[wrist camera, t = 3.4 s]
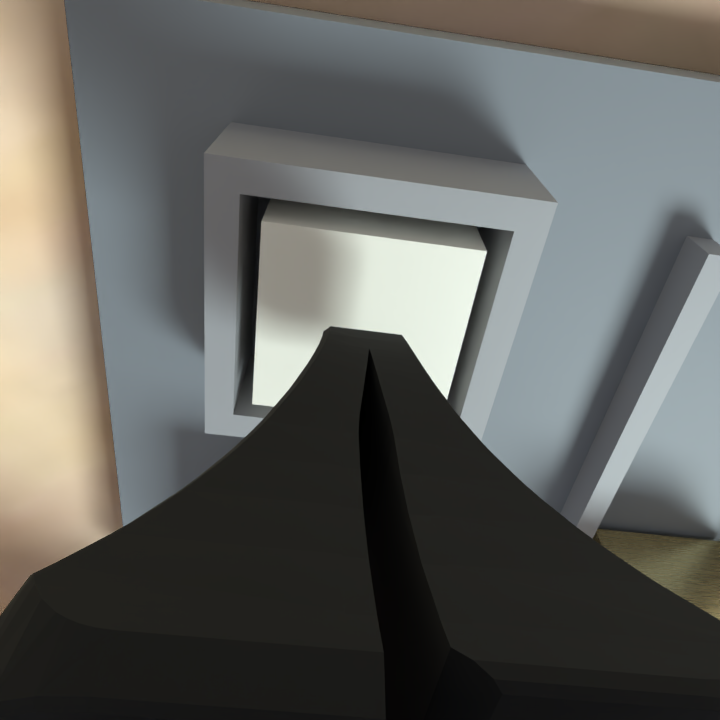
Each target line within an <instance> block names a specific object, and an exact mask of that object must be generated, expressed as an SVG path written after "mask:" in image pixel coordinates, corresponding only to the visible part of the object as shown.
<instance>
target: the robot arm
mask: <svg viewBox="0 0 720 720" xmlns="http://www.w3.org/2000/svg"><path fill="white" fill-rule="evenodd" d="M0 720H720V620H719V619H717V618H716V617H714V616H712V615H711V614H709V613H707V612H705V611H704V610H702V609H700V608H699V607H697V606H695V605H694V604H692V603H690V602H689V601H687V600H685V599H683V598H682V597H680V596H678V595H677V594H675V593H673V592H672V591H670V590H668V589H667V588H665V587H663V586H661V585H660V584H658V583H657V582H655V581H654V580H652V579H650V578H649V577H647V576H646V575H644V574H643V573H641V572H640V571H638V570H637V569H635V568H634V567H633V566H631V565H630V564H628V563H627V562H625V561H624V560H622V559H621V558H619V557H618V556H616V555H615V554H613V553H612V552H610V551H609V550H607V549H606V548H605V547H603V546H602V545H600V544H599V543H598V542H596V541H595V540H594V539H592V538H591V537H590V536H588V535H587V534H585V533H584V532H583V531H581V530H580V529H579V528H577V527H576V526H575V525H573V524H572V523H571V522H570V521H568V520H567V519H566V518H565V517H564V516H562V515H561V514H560V513H559V512H557V511H556V510H555V509H554V508H552V507H551V506H550V505H549V504H547V503H546V502H545V501H544V500H542V499H541V498H540V497H539V496H538V495H537V494H535V493H534V492H533V491H532V490H531V489H530V488H528V487H527V486H526V485H525V484H524V483H523V482H522V481H521V480H520V479H519V478H518V477H517V476H515V475H514V474H513V473H512V472H511V471H510V470H509V469H508V468H507V467H506V466H505V465H504V464H503V463H502V462H501V461H500V460H499V459H498V458H497V457H496V456H495V455H494V454H493V453H492V452H491V451H490V450H489V449H488V448H487V447H486V446H485V445H484V444H483V443H482V442H481V441H480V440H479V438H478V437H477V436H476V435H475V434H474V433H473V432H472V430H471V429H470V428H469V427H468V426H467V425H466V423H465V422H464V421H463V420H462V419H461V418H460V416H459V415H458V414H457V413H456V412H455V410H454V409H453V408H452V406H451V405H450V404H449V402H448V401H447V400H446V398H445V397H444V396H443V394H442V393H441V392H440V390H439V389H438V387H437V386H436V385H435V383H434V382H433V380H432V379H431V378H430V376H429V375H428V373H427V372H426V370H425V369H424V367H423V366H422V364H421V363H420V361H419V360H418V358H417V357H416V355H415V353H414V352H413V350H412V349H411V347H410V346H409V344H408V343H407V341H406V340H405V338H404V337H403V336H402V335H399V334H391V333H383V332H375V331H367V330H358V329H350V328H342V327H334V326H330V327H329V328H327V329H326V330H325V331H323V335H322V338H321V340H320V343H319V345H318V347H317V349H316V350H315V352H314V354H313V355H312V357H311V359H310V360H309V362H308V364H307V365H306V366H305V368H304V369H303V371H302V372H301V373H300V375H299V376H298V378H297V379H296V380H295V382H294V383H293V385H292V386H291V387H290V389H289V390H288V391H287V392H286V393H285V395H284V396H283V397H282V398H281V399H280V400H279V402H278V403H277V404H276V405H275V406H274V407H273V408H272V410H271V411H270V412H269V413H268V414H267V415H266V416H265V418H264V419H263V420H262V421H261V422H260V423H259V424H258V425H257V426H256V427H255V428H254V429H253V430H252V431H251V432H250V433H249V434H248V435H247V436H246V437H245V438H243V439H242V440H241V441H240V442H239V443H238V444H237V445H236V446H235V447H234V448H233V449H231V450H230V451H229V452H228V453H227V454H226V455H224V456H223V457H222V458H221V459H220V460H218V461H217V462H216V463H215V464H213V465H212V466H211V467H210V468H208V469H207V470H206V471H205V472H204V473H202V474H201V475H200V476H198V477H197V478H196V479H194V480H193V481H192V482H190V483H189V484H188V485H186V486H185V487H184V488H182V489H181V490H179V491H178V492H176V493H175V494H173V495H172V496H170V497H169V498H167V499H166V500H164V501H163V502H161V503H160V504H158V505H156V506H155V507H153V508H152V509H150V510H149V511H147V512H146V513H144V514H143V515H141V516H140V517H138V518H137V519H135V520H133V521H132V522H130V523H129V524H127V525H125V526H124V527H122V528H120V529H119V530H117V531H115V532H114V533H112V534H110V535H108V536H106V537H104V538H102V539H100V540H98V541H96V542H95V543H93V544H91V545H89V546H87V547H85V548H83V549H81V550H79V551H77V552H75V553H73V554H72V555H70V556H68V557H66V558H64V559H62V560H60V561H58V562H56V563H54V564H52V565H50V566H48V567H46V568H44V569H42V570H40V571H38V572H36V573H33V574H32V575H30V577H29V578H28V579H27V581H26V582H25V583H24V585H23V586H22V587H21V588H20V590H19V591H18V593H17V594H16V595H15V597H14V598H13V599H12V601H11V602H10V603H9V605H8V606H7V607H6V609H5V610H4V611H3V613H2V614H1V615H0Z"/></svg>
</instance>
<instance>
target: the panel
mask: <svg viewBox="0 0 720 720" xmlns="http://www.w3.org/2000/svg"><path fill="white" fill-rule="evenodd" d="M64 2H65V11H66V20H67V29H68V38H69V47H70V56H71V65H72V74H73V83H74V92H75V101H76V110H77V118H78V127H79V136H80V145H81V154H82V163H83V172H84V181H85V190H86V199H87V208H88V217H89V226H90V235H91V244H92V253H93V262H94V271H95V280H96V289H97V298H98V306H99V315H100V324H101V333H102V342H103V351H104V360H105V369H106V378H107V387H108V396H109V405H110V414H111V423H112V432H113V441H114V450H115V459H116V468H117V477H118V485H119V494H120V503H121V512H122V521H123V527H124V526H125V525H127V524H129V523H130V522H132V521H133V520H135V519H137V518H138V517H140V516H141V515H143V514H144V513H146V512H147V511H149V510H150V509H152V508H153V507H155V506H156V505H158V504H160V503H161V502H163V501H164V500H166V499H167V498H169V497H170V496H172V495H173V494H175V493H176V492H178V491H179V490H181V489H182V488H184V487H185V486H186V485H188V484H189V483H190V482H192V481H193V480H194V479H196V478H197V477H198V476H200V475H201V474H202V473H204V472H205V471H206V470H207V469H208V468H210V467H211V466H212V465H213V464H215V463H216V462H217V461H218V460H220V459H221V458H222V457H223V456H224V455H226V454H227V453H228V452H229V451H230V450H231V449H233V448H234V447H235V446H236V445H237V444H238V443H239V442H240V441H241V440H242V439H243V438H245V437H246V436H247V435H248V434H249V433H250V432H251V431H252V430H253V429H254V428H255V427H256V426H257V425H258V424H259V423H260V422H261V421H262V420H263V419H264V418H265V416H266V415H267V414H268V413H269V412H270V411H271V410H272V408H273V406H264V405H255V404H252V398H253V378H254V358H255V338H256V319H257V299H258V279H259V259H260V239H261V221H262V219H263V216H264V214H265V211H266V209H267V206H268V204H269V201H270V199H271V198H273V199H280V200H288V201H295V202H302V203H310V204H317V205H324V206H332V207H339V208H346V209H354V210H361V211H368V212H376V213H383V214H390V215H398V216H405V217H412V218H420V219H427V220H434V221H442V222H449V223H457V224H464V225H471V226H476V227H477V229H478V232H479V234H480V236H481V239H482V241H483V243H484V245H485V248H486V250H487V254H486V257H485V261H484V265H483V268H482V272H481V276H480V279H479V283H478V287H477V291H476V294H475V298H474V302H473V305H472V309H471V313H470V317H469V320H468V324H467V328H466V331H465V335H464V339H463V342H462V346H461V350H460V354H459V357H458V361H457V365H456V368H455V372H454V376H453V380H452V383H451V387H450V391H449V394H448V398H447V401H448V402H449V404H450V405H451V406H452V408H453V409H454V410H455V412H456V413H457V414H458V415H459V416H460V418H461V419H462V420H463V421H464V422H465V423H466V425H467V426H468V427H469V428H470V429H471V430H472V432H473V433H474V434H475V435H476V436H477V437H478V438H479V440H480V441H481V442H482V443H483V444H484V445H485V446H486V447H487V448H488V449H489V450H490V451H491V452H492V453H493V454H494V455H495V456H496V457H497V458H498V459H499V460H500V461H501V462H502V463H503V464H504V465H505V466H506V467H507V468H508V469H509V470H510V471H511V472H512V473H513V474H514V475H515V476H517V477H518V478H519V479H520V480H521V481H522V482H523V483H524V484H525V485H526V486H527V487H528V488H530V489H531V490H532V491H533V492H534V493H535V494H537V495H538V496H539V497H540V498H541V499H542V500H544V501H545V502H546V503H547V504H549V505H550V506H551V507H552V508H554V509H555V510H556V511H557V512H559V513H560V514H561V515H562V516H564V517H565V518H566V519H567V520H568V521H570V522H571V523H572V524H573V525H575V526H576V527H577V528H579V529H580V530H581V531H583V532H584V533H585V534H587V535H588V536H590V537H591V538H592V539H593V537H594V535H595V533H596V531H597V529H603V530H613V531H623V532H633V533H643V534H653V535H663V536H672V537H682V538H692V539H702V540H712V541H720V75H715V74H709V73H702V72H696V71H690V70H683V69H677V68H671V67H665V66H658V65H652V64H646V63H639V62H633V61H627V60H620V59H614V58H608V57H602V56H595V55H589V54H583V53H576V52H570V51H564V50H557V49H551V48H545V47H538V46H532V45H526V44H520V43H513V42H507V41H501V40H494V39H488V38H482V37H475V36H469V35H463V34H457V33H450V32H444V31H438V30H431V29H425V28H419V27H412V26H406V25H400V24H393V23H387V22H381V21H375V20H368V19H362V18H356V17H349V16H343V15H337V14H330V13H324V12H318V11H312V10H305V9H299V8H293V7H286V6H280V5H274V4H267V3H261V2H255V1H249V0H64Z"/></svg>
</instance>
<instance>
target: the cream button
mask: <svg viewBox="0 0 720 720" xmlns="http://www.w3.org/2000/svg"><path fill="white" fill-rule="evenodd" d="M486 254H487V250H486V248H485V245H484V243H483V241H482V239H481V236H480V234H479V232H478V229H477V227H476V226H471V225H464V224H457V223H449V222H442V221H434V220H427V219H420V218H412V217H405V216H398V215H390V214H383V213H376V212H368V211H361V210H354V209H346V208H339V207H332V206H324V205H317V204H310V203H302V202H295V201H288V200H280V199H273V198H271V199H270V201H269V204H268V206H267V209H266V211H265V214H264V216H263V219H262V221H261V239H260V259H259V279H258V299H257V319H256V338H255V358H254V378H253V398H252V404H255V405H264V406H273V407H274V406H275V405H276V404H277V403H278V402H279V400H280V399H281V398H282V397H283V396H284V395H285V393H286V392H287V391H288V390H289V389H290V387H291V386H292V385H293V383H294V382H295V380H296V379H297V378H298V376H299V375H300V373H301V372H302V371H303V369H304V368H305V366H306V365H307V364H308V362H309V360H310V359H311V357H312V355H313V354H314V352H315V350H316V349H317V347H318V345H319V343H320V340H321V338H322V335H323V331H325V330H326V329H327V328H329V327H330V326H334V327H342V328H350V329H358V330H367V331H375V332H383V333H391V334H399V335H402V336H403V337H404V338H405V340H406V341H407V343H408V344H409V346H410V347H411V349H412V350H413V352H414V353H415V355H416V357H417V358H418V360H419V361H420V363H421V364H422V366H423V367H424V369H425V370H426V372H427V373H428V375H429V376H430V378H431V379H432V380H433V382H434V383H435V385H436V386H437V387H438V389H439V390H440V392H441V393H442V394H443V396H444V397H445V398H446V400H447V398H448V394H449V391H450V387H451V383H452V380H453V376H454V372H455V368H456V365H457V361H458V357H459V354H460V350H461V346H462V342H463V339H464V335H465V331H466V328H467V324H468V320H469V317H470V313H471V309H472V305H473V302H474V298H475V294H476V291H477V287H478V283H479V279H480V276H481V272H482V268H483V265H484V261H485V257H486Z"/></svg>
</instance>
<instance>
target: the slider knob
mask: <svg viewBox="0 0 720 720" xmlns="http://www.w3.org/2000/svg"><path fill="white" fill-rule="evenodd" d="M593 539H594V540H595V541H596V542H598V543H599V544H600V545H602V546H603V547H605V548H606V549H607V550H609V551H610V552H612V553H613V554H615V555H616V556H618V557H619V558H621V559H622V560H624V561H625V562H627V563H628V564H630V565H631V566H633V567H634V568H635V569H637V570H638V571H640V572H641V573H643V574H644V575H646V576H647V577H649V578H650V579H652V580H654V581H655V582H657V583H658V584H660V585H661V586H663V587H665V588H667V589H668V590H670V591H672V592H673V593H675V594H677V595H678V596H680V597H682V598H683V599H685V600H687V601H689V602H690V603H692V604H694V605H695V606H697V607H699V608H700V609H702V610H704V611H705V612H707V613H709V614H711V615H712V616H714V617H716V618H717V619H719V620H720V541H712V540H702V539H692V538H682V537H672V536H663V535H653V534H643V533H633V532H623V531H613V530H603V529H597V531H596V533H595V535H594V537H593Z"/></svg>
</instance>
